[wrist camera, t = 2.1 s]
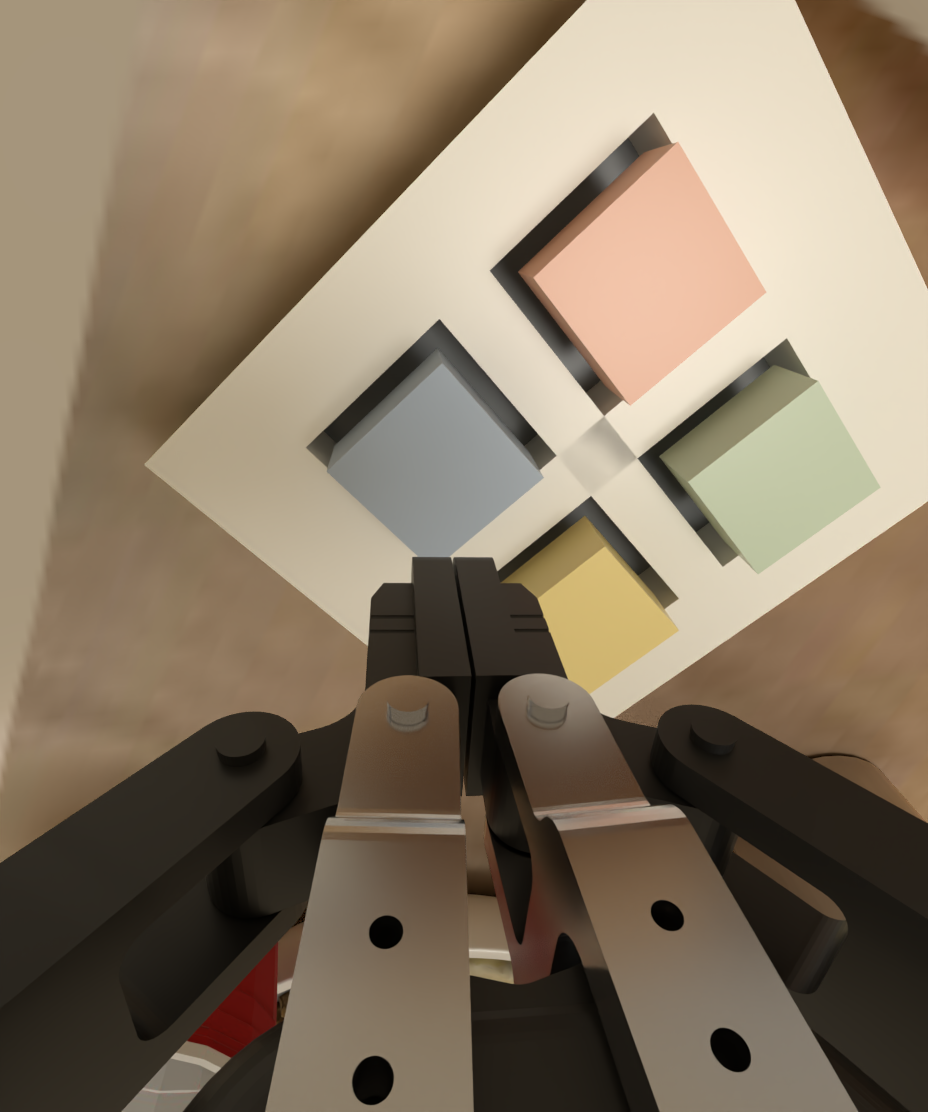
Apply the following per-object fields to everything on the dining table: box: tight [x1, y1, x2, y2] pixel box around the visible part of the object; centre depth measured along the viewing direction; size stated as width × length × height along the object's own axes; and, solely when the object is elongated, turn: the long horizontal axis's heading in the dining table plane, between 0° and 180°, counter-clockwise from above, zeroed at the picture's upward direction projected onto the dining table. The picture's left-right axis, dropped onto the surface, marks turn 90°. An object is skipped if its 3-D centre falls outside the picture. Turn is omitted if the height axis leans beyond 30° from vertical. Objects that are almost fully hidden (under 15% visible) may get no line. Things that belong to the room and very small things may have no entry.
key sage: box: [659, 365, 881, 574], centre depth 20 cm, size 4×4×2 cm
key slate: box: [327, 348, 544, 557], centre depth 19 cm, size 4×4×2 cm
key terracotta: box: [518, 142, 766, 406], centre depth 17 cm, size 4×4×2 cm
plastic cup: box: [122, 942, 278, 1112], centre depth 28 cm, size 11×11×12 cm
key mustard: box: [501, 516, 679, 694], centre depth 22 cm, size 4×4×2 cm
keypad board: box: [144, 0, 928, 718], centre depth 22 cm, size 19×21×4 cm
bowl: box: [276, 894, 514, 1025], centre depth 39 cm, size 30×30×8 cm
